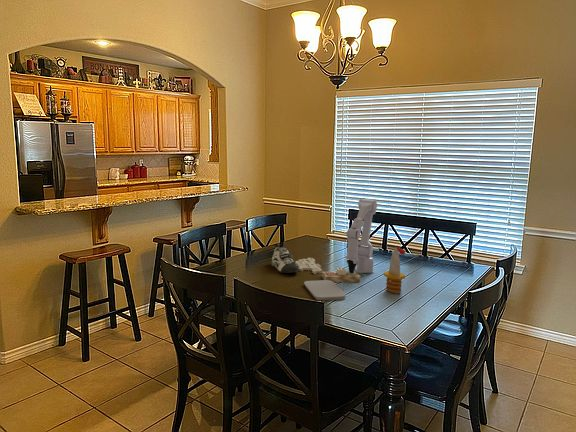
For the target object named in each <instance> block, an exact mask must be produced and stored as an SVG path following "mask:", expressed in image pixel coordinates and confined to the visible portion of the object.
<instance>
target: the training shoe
mask: <svg viewBox="0 0 576 432" xmlns="http://www.w3.org/2000/svg"><path fill="white" fill-rule="evenodd" d="M293 258H294V255H293V254H291V253H290V252H289V250H288V249H287V248H286V247H281V248H280V247H278V246H277V247H275V248H274V251H273V254H272V258H271V266H272V267H274V268H275V269H276V271H277V272H278V273H285V274H286V273H288V274H290V273H297V272H300V271H299V268H298V267H297V265H296V264H295V263H296V261H294V259H293Z"/></svg>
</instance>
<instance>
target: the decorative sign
mask: <svg viewBox="0 0 576 432" xmlns="http://www.w3.org/2000/svg"><path fill="white" fill-rule="evenodd" d="M295 264H296V266H298V270H299V271H298V272H304V270H308V271H309V270H310V271H311V274H312V273H313V274H312V275H316V274H322V272H323V269H322V265H320V263H316V259H315V258H313V257H307V258H302V259H298V260H295ZM310 271H309V272H310Z"/></svg>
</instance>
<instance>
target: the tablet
mask: <svg viewBox="0 0 576 432" xmlns="http://www.w3.org/2000/svg"><path fill="white" fill-rule="evenodd" d="M303 282H304V283H303V284H304V287H305V288H306V289H307V290H308V292H309V293H310V294H311V295H312V296H313V298H314V299H315V300H317V301H321V300H322V301H335V300H339V301H340V300H344V299H345V297H347V294H346V293H345V291H344V290H342V288H340V286H338V285H337V284H336V282H333V281H330V280H324V279H322V280H318V279H317V280H305V281H303Z"/></svg>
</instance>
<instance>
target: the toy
mask: <svg viewBox="0 0 576 432" xmlns="http://www.w3.org/2000/svg"><path fill="white" fill-rule="evenodd" d="M405 251H406V250H404V249H402V248H400V247H398V246H395V248H394V249H393V252H392V254H391V257H390V261H389V270H387V271H384V272H383V276H384V277H386V283H385V285H386V286H385V290H386V291H387V292H388V293H392V294H401V293H402V289H401V288H402V287H403V286H402V283H403V281H402V280H403V279H406V275H405V273H402V272H401V261H400V260H401V259H400V255H402V256H403V255H405V254H406V252H405Z"/></svg>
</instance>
